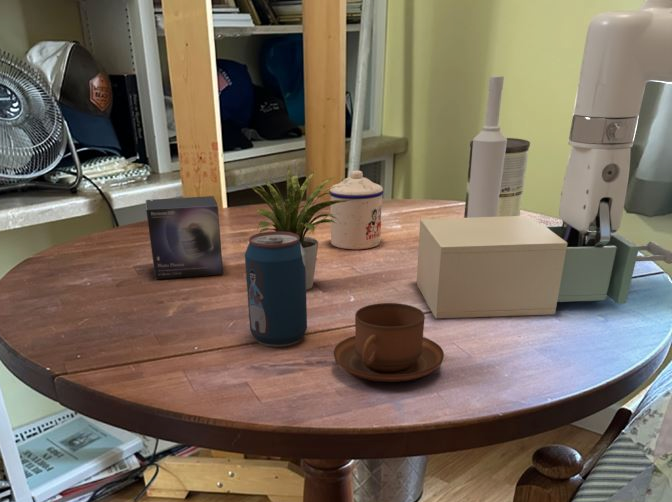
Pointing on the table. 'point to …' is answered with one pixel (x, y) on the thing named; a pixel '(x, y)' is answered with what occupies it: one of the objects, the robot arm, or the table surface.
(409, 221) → the table surface
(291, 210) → the house plant
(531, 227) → the beige box
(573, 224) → the robot arm
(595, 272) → the drawer
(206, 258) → the small box
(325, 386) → the table surface
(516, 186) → the coffee can
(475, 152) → the bottle
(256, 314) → the soda can
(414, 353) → the cup and saucer
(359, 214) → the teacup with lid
